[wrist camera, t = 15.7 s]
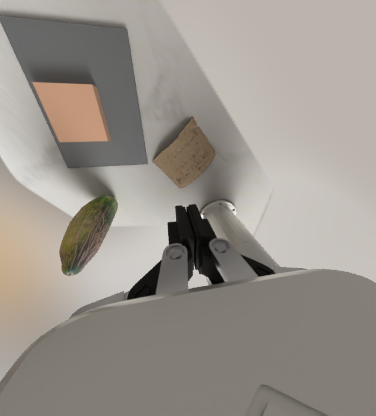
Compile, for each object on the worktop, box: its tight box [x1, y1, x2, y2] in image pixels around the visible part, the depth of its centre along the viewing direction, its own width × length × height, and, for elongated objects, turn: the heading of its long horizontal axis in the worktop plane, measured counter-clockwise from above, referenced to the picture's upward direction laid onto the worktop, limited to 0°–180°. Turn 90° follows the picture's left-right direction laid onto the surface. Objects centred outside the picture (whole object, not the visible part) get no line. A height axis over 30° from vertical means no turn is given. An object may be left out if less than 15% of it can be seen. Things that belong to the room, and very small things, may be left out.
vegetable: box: [60, 195, 118, 276], centre depth 26 cm, size 6×6×20 cm
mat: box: [0, 15, 148, 168], centre depth 25 cm, size 20×16×1 cm
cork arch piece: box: [153, 117, 215, 188], centre depth 32 cm, size 14×10×3 cm
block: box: [32, 82, 111, 142], centre depth 24 cm, size 8×2×8 cm
